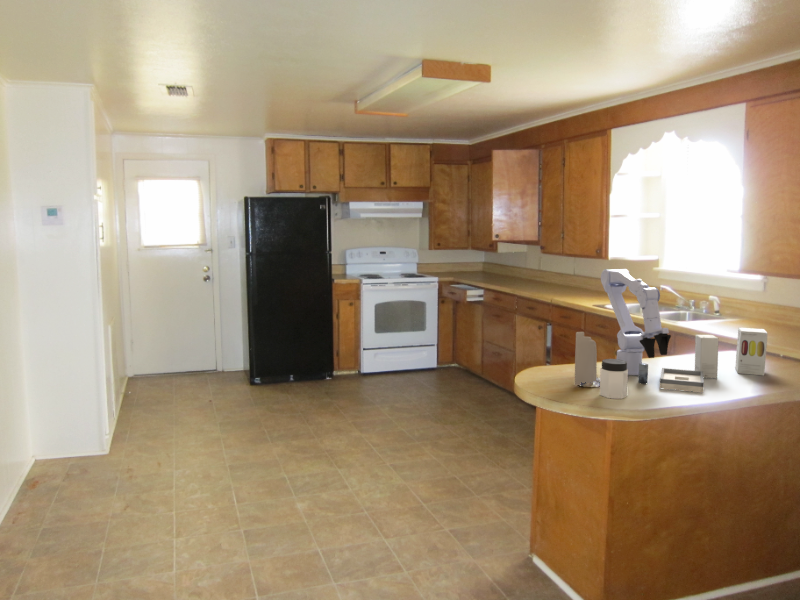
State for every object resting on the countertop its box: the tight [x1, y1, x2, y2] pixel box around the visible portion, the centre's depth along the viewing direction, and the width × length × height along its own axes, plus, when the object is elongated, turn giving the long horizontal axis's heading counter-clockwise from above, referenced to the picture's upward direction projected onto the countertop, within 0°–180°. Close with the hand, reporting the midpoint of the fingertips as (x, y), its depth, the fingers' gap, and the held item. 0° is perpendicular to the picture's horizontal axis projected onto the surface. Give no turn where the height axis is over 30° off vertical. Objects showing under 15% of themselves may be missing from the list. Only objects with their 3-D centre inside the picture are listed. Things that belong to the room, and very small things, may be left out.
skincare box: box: [694, 334, 720, 379], centre depth 241 cm, size 8×7×16 cm
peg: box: [637, 362, 649, 385], centre depth 232 cm, size 3×3×7 cm
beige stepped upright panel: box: [574, 331, 598, 386], centre depth 229 cm, size 7×14×20 cm, turn 91°
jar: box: [599, 358, 629, 400], centre depth 216 cm, size 9×8×12 cm
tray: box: [659, 367, 705, 394], centre depth 230 cm, size 14×18×4 cm
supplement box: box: [734, 327, 769, 376], centre depth 247 cm, size 10×9×17 cm
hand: (657, 356), depth 230 cm, fingers open, 7 cm apart
